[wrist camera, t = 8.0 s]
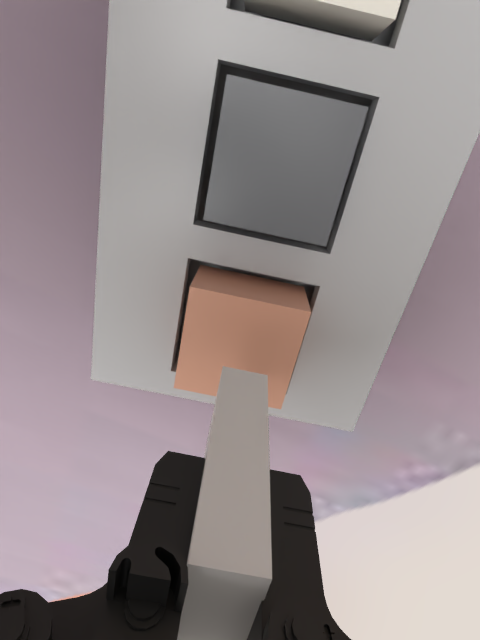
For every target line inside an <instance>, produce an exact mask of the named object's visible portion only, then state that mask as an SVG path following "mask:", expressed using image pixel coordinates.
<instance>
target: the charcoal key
mask: <svg viewBox="0 0 480 640" xmlns="http://www.w3.org/2000/svg"><path fill="white" fill-rule="evenodd" d="M368 108H369V107H366V106H362V105H357V104H353V103H349V102H344V101H340V100H336V99H332V98H327V97H323V96H319V95H315V94H310V93H306V92H302V91H297V90H293V89H289V88H285V87H280V86H276V85H272V84H267V83H263V82H259V81H255V80H250V79H246V78H242V77H238V76H233V75H229V74H227V76H226V83H225V89H224V95H223V101H222V107H221V113H220V119H219V126H218V132H217V138H216V144H215V150H214V156H213V162H212V169H211V175H210V181H209V187H208V193H207V199H206V206H205V212H204V218H203V220H206V221H211V222H215V223H220V224H224V225H229V226H234V227H238V228H243V229H247V230H252V231H257V232H261V233H266V234H270V235H275V236H279V237H284V238H289V239H293V240H298V241H302V242H307V243H312V244H316V245H321V246H325V247H326V245H327V242H328V238H329V235H330V232H331V229H332V225H333V222H334V219H335V216H336V212H337V209H338V206H339V202H340V199H341V196H342V193H343V189H344V186H345V183H346V180H347V176H348V173H349V170H350V167H351V163H352V160H353V157H354V153H355V150H356V147H357V144H358V140H359V137H360V134H361V131H362V127H363V124H364V121H365V117H366V114H367V111H368Z"/></svg>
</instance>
